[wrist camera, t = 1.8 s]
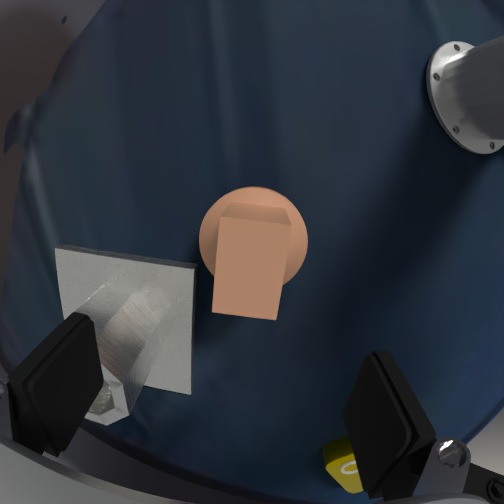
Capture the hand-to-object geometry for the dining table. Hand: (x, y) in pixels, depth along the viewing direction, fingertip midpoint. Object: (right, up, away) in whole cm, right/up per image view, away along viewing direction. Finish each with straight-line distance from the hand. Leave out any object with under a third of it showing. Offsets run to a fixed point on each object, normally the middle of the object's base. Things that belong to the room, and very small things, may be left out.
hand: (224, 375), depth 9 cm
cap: (+1, +6, +18) cm, 19 cm away
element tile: (+21, -27, +29) cm, 45 cm away
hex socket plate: (-13, -4, +22) cm, 26 cm away
